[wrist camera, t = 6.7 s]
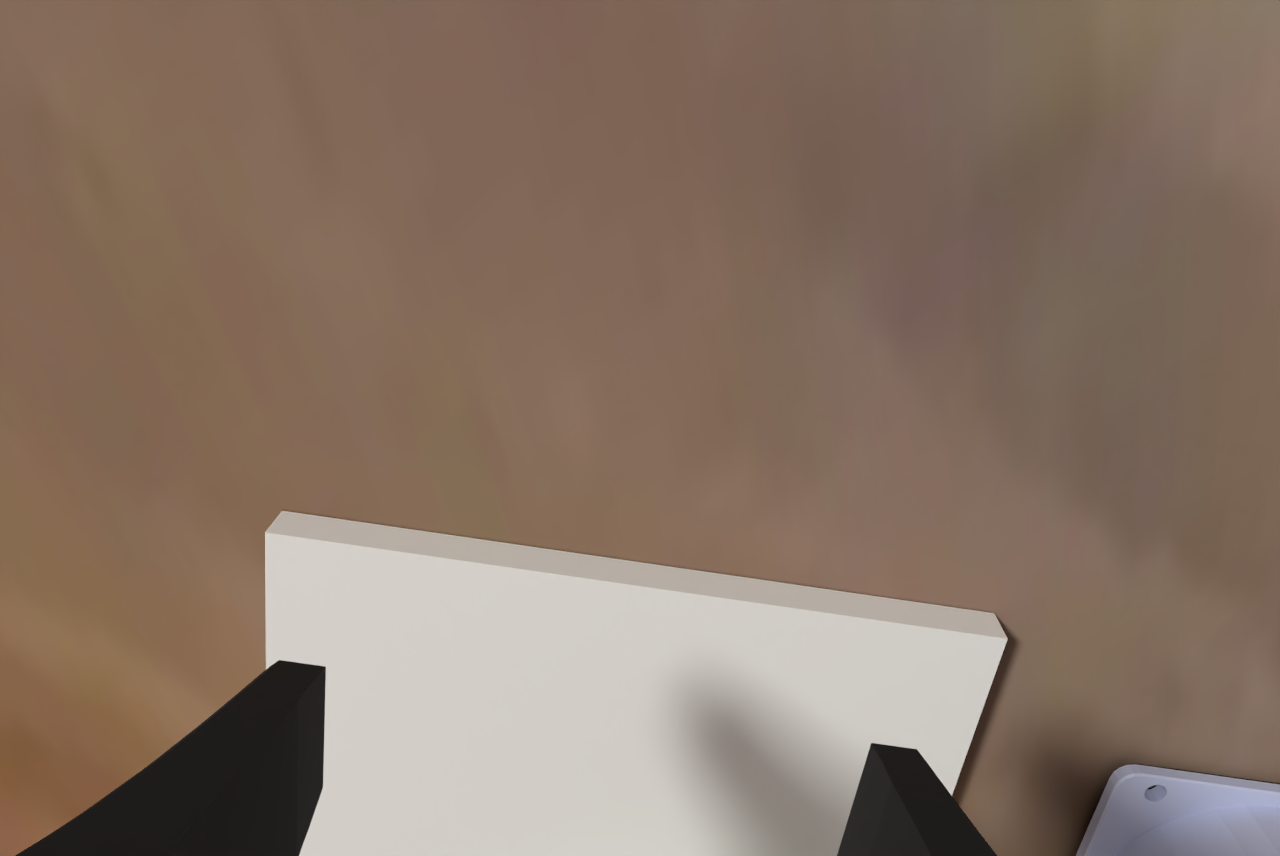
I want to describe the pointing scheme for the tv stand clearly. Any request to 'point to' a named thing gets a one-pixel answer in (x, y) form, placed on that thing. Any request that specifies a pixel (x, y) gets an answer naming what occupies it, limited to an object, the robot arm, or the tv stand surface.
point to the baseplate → (601, 696)
